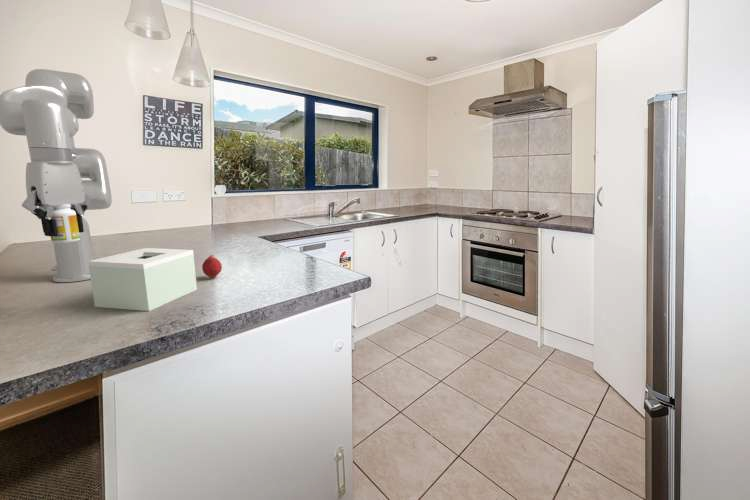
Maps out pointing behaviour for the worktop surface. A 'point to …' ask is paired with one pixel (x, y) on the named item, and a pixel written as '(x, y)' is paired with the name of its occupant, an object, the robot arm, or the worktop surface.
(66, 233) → the supplement bottle
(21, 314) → the worktop surface
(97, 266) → the caddy
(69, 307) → the worktop surface
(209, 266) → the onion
